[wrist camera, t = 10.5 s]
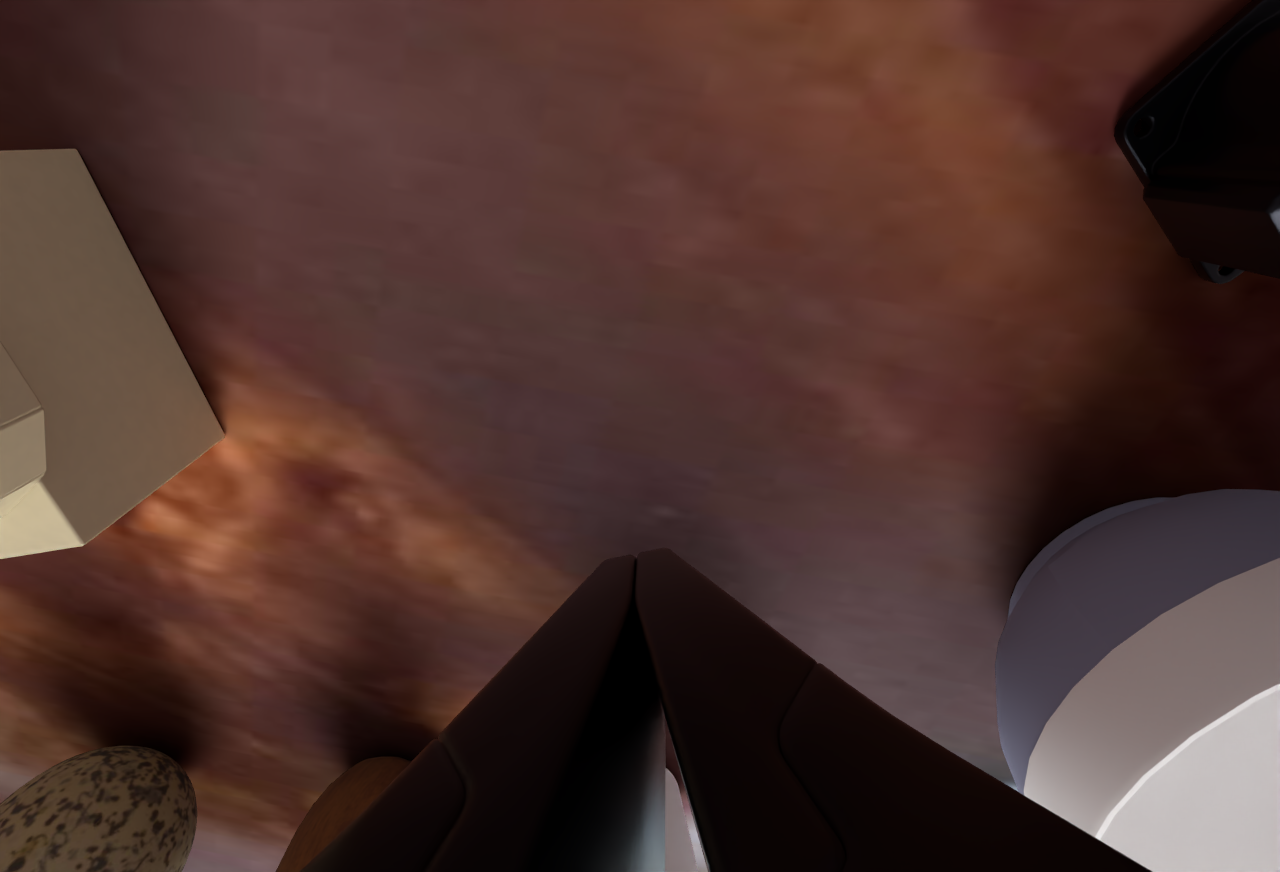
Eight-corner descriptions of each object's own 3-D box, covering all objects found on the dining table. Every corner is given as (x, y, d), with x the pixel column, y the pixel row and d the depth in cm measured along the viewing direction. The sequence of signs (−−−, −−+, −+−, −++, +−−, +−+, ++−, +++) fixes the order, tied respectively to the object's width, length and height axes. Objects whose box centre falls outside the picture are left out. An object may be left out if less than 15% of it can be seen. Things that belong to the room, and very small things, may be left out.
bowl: (958, 427, 21) (1183, 623, 13) (1415, 398, 21) (1945, 574, 13) (899, 738, 29) (1020, 998, 20) (1243, 715, 29) (1512, 967, 20)
